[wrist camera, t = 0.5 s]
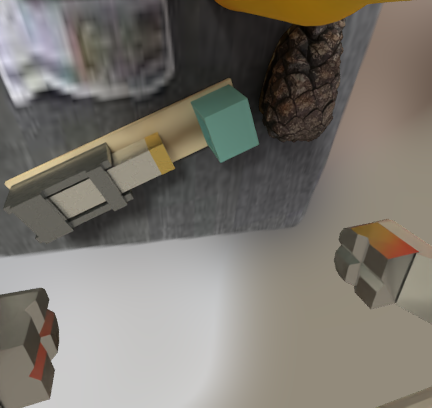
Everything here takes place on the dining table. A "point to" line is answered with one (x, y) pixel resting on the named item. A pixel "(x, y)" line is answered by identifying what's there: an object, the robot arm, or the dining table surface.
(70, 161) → the sleeve
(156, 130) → the board
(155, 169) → the slip tube
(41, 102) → the dining table surface
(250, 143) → the teal cube
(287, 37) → the pine cone
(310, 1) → the beer bottle
